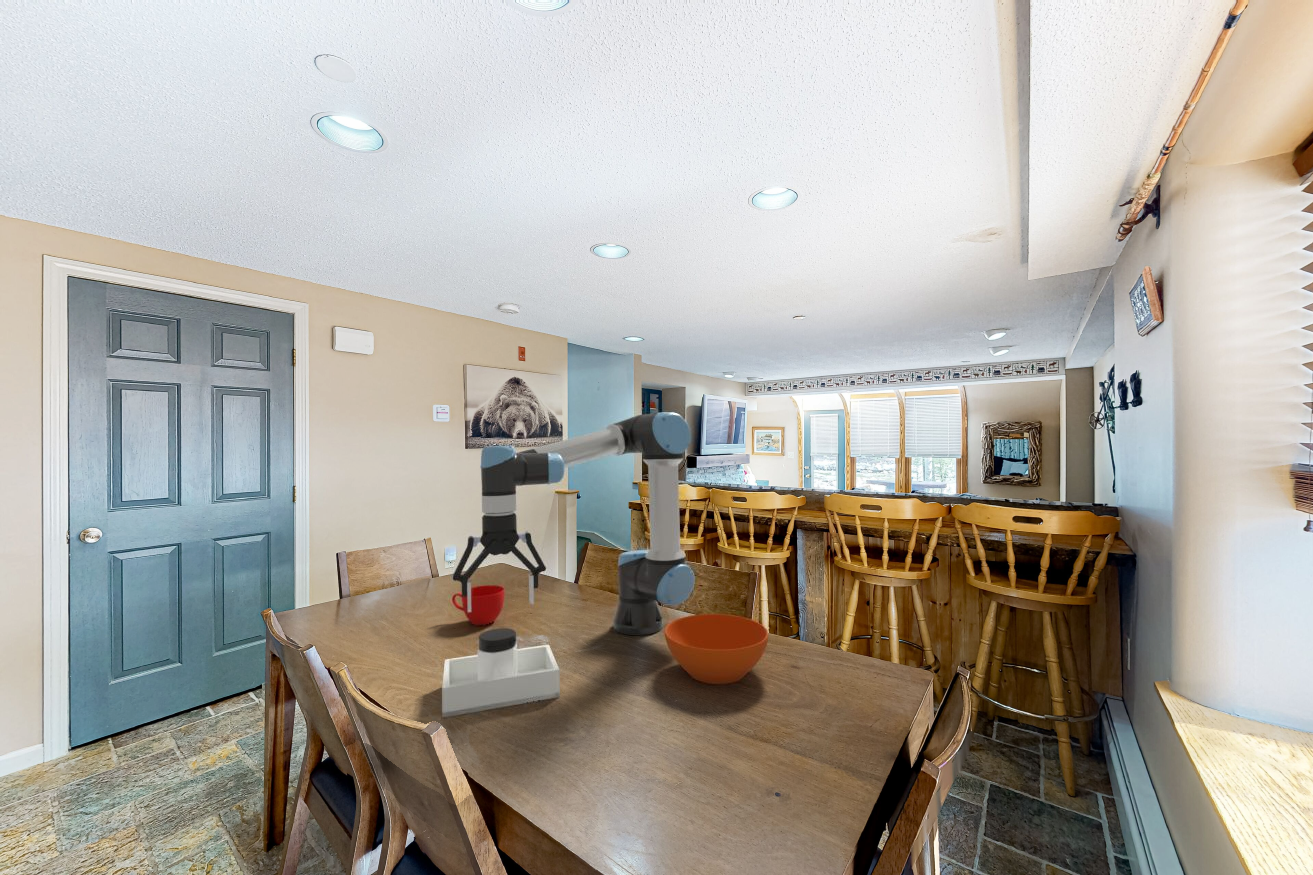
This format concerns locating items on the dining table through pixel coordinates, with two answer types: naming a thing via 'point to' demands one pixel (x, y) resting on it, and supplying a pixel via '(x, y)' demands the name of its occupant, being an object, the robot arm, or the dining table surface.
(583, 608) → the dining table surface
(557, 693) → the bin
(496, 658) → the jar
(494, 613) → the ceramic cup
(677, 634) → the bowl
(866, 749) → the dining table surface
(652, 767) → the dining table surface
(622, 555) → the robot arm
